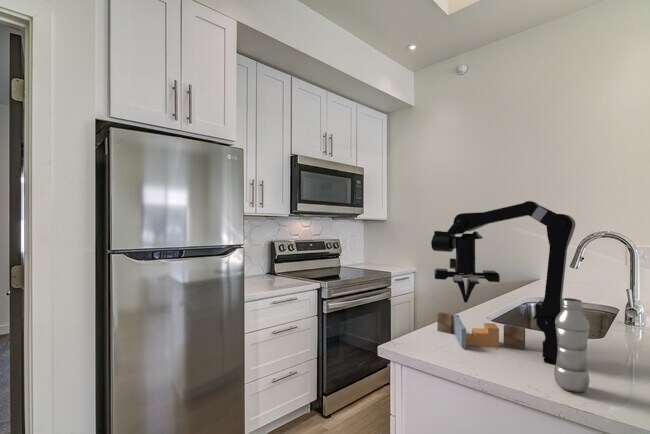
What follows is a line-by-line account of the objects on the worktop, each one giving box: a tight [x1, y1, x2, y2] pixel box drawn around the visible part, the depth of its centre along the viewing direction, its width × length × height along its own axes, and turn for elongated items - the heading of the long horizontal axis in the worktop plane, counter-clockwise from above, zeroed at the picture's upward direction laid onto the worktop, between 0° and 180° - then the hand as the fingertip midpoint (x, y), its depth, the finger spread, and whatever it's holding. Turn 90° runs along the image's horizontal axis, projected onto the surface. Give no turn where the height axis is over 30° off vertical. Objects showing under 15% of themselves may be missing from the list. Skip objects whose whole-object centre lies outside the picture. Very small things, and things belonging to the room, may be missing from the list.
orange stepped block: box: [466, 322, 500, 348], centre depth 106 cm, size 10×5×6 cm, turn 78°
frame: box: [436, 311, 526, 351], centre depth 110 cm, size 26×2×6 cm, turn 49°
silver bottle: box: [553, 297, 591, 393], centre depth 78 cm, size 6×7×20 cm
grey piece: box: [452, 314, 467, 348], centre depth 108 cm, size 15×2×6 cm, turn 168°
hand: (465, 302), depth 109 cm, fingers closed
